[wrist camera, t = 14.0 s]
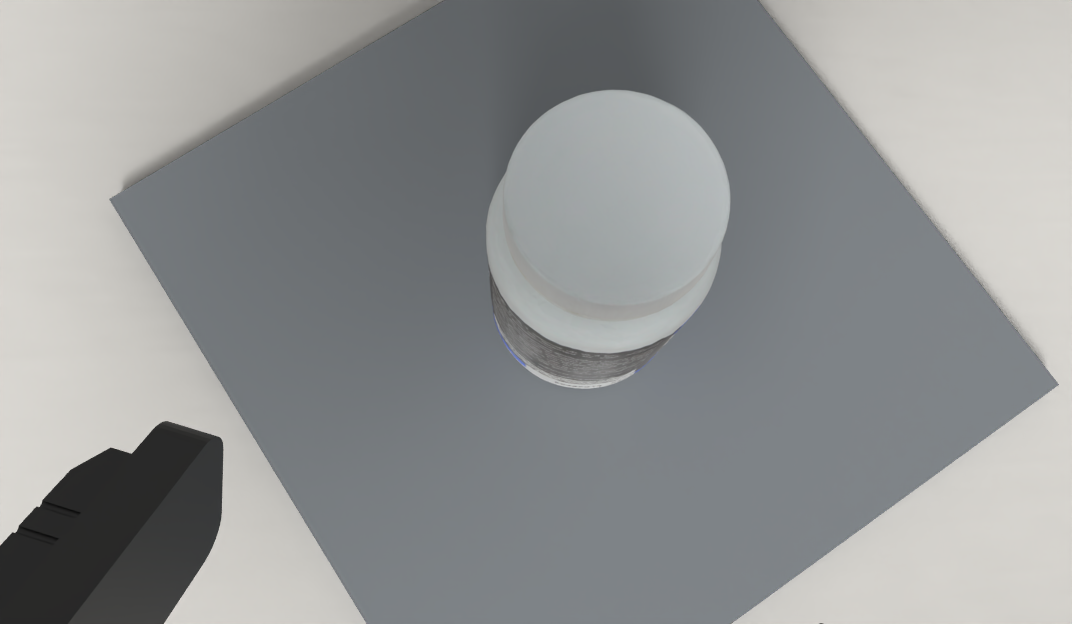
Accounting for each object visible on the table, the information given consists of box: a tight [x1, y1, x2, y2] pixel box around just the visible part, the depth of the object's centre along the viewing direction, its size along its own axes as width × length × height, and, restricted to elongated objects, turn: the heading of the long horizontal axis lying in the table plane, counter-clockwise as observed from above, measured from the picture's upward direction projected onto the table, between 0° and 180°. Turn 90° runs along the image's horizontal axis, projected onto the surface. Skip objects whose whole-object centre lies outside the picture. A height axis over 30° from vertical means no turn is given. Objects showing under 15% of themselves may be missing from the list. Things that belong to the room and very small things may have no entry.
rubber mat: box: [110, 0, 1059, 624], centre depth 24 cm, size 18×18×1 cm
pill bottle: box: [486, 90, 730, 389], centre depth 20 cm, size 5×5×8 cm
